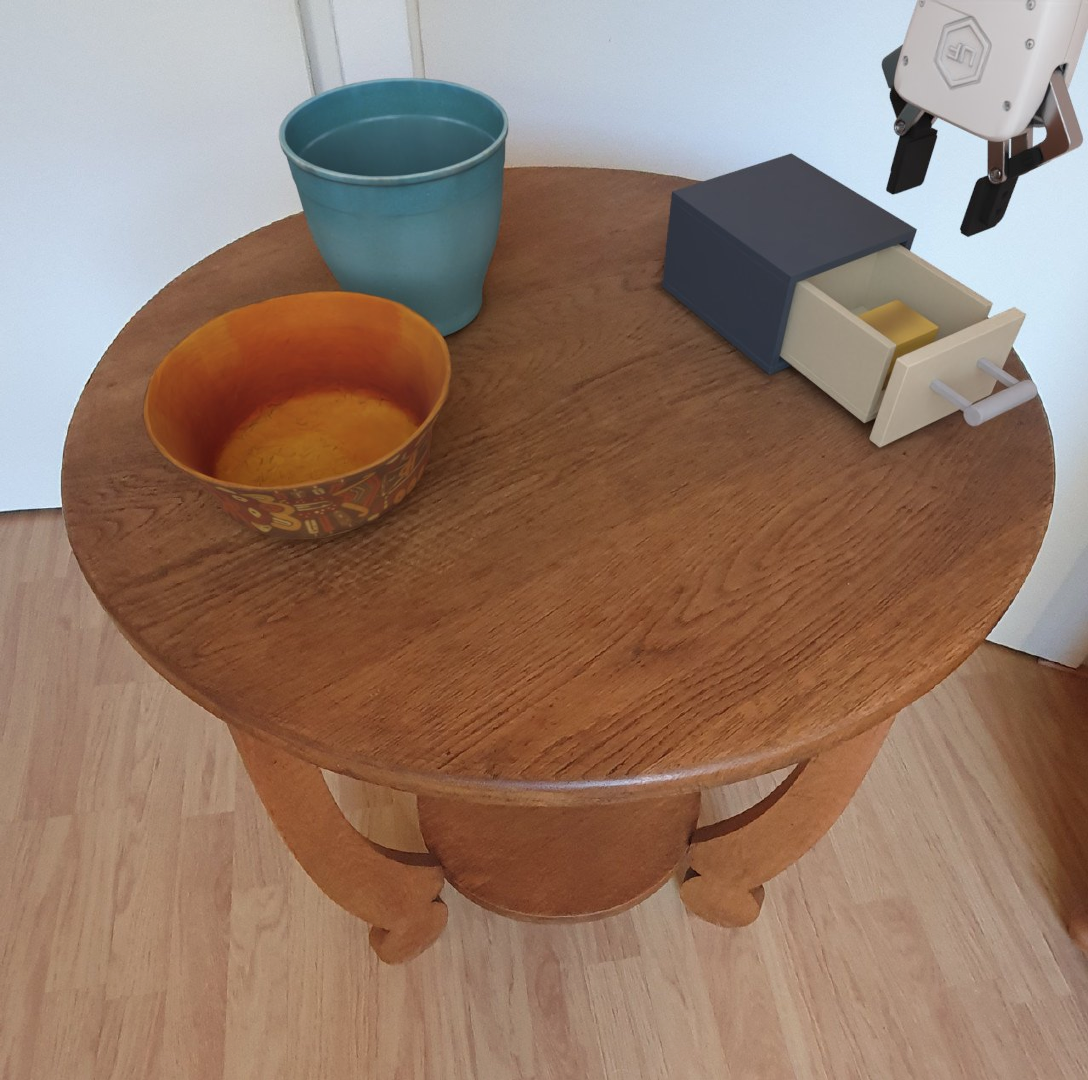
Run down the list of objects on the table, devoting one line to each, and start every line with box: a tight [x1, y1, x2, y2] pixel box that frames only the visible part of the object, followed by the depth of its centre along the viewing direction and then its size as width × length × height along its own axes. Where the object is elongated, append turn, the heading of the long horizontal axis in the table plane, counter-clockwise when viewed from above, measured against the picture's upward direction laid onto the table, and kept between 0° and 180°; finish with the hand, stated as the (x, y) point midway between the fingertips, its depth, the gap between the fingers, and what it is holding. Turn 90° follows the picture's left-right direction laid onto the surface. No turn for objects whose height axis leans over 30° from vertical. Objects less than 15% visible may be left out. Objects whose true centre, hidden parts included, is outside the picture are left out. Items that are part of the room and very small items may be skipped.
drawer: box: [780, 244, 1038, 448], centre depth 75 cm, size 20×12×8 cm, turn 31°
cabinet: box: [661, 152, 918, 376], centre depth 83 cm, size 16×14×10 cm
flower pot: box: [278, 77, 509, 338], centre depth 81 cm, size 18×18×17 cm
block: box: [857, 300, 939, 391], centre depth 76 cm, size 4×4×4 cm
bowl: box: [141, 290, 453, 540], centre depth 68 cm, size 21×21×10 cm
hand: (940, 206), depth 67 cm, fingers open, 6 cm apart
